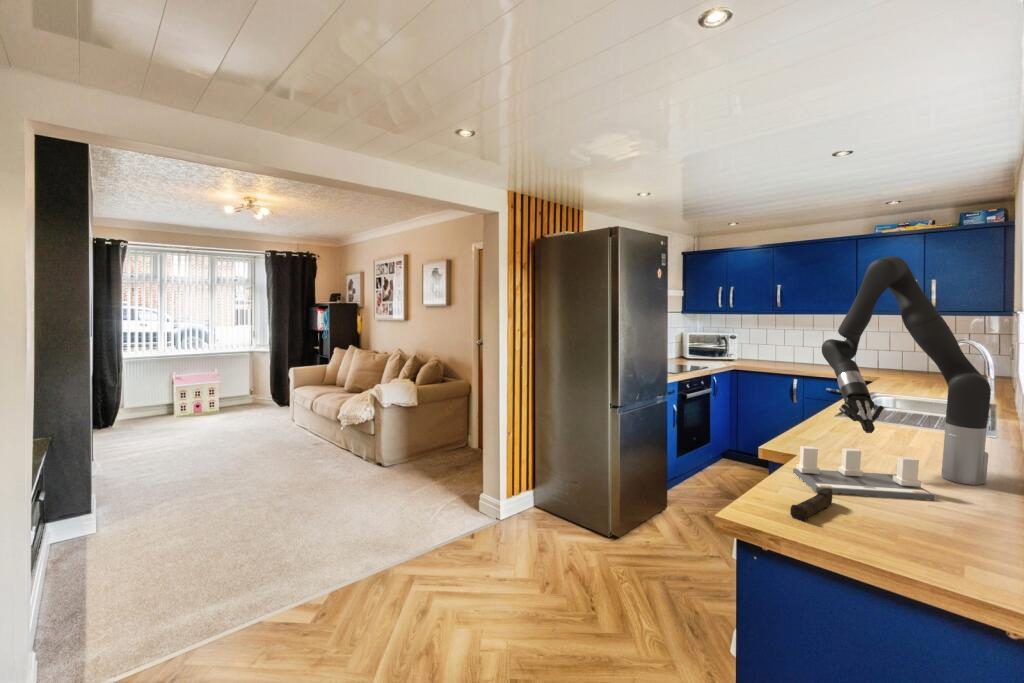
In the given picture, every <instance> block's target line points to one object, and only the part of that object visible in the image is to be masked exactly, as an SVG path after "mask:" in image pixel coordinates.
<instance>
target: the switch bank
mask: <svg viewBox="0 0 1024 683" xmlns="http://www.w3.org/2000/svg"><path fill="white" fill-rule="evenodd" d="M792 473H793V474H794V473H795V474H796V475H797V476H798V477H799V478H798V477H797V476H796V475H795V474H794V475H795V476H796V477H797V478H798V479H800V478H801V479H802V480H803V481H804V482H805V483H806V484H805V483H804V482H803V481H802V480H801V479H800V480H801V481H802V482H803V483H804V484H805V485H807V486H808V487H809V486H810V487H811V488H812V489H813V490H812V489H811V488H810V487H809V488H810V489H811V490H812V491H813V492H815V493H817V492H818V491H819V490H822V489H824V488H830V489H832V493H843V494H842V495H847V494H856V495H855V496H863V495H869V496H868V497H878V496H881V497H882V498H893V497H894V498H897V499H909V498H914V499H913V500H924V499H930V500H929V501H935V494H934V493H933V492H931V491H929V490H927V489H925V488H923V487H922V486H921V487H918V486H902V485H900V484H898V483H896V482H895V481H893V476H897V473H894V474H893V473H878V472H863V476H848V475H843V474H842V473H841V472H839V471H838V470H829V469H828V470H827V469H826V470H825V469H820V474H814V473H801V472H800V471H799V470H798V469H797V468H793V470H792ZM870 495H871V496H870ZM881 497H880V498H881ZM915 498H916V499H915Z"/></svg>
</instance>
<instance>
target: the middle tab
mask: <svg viewBox="0 0 1024 683" xmlns="http://www.w3.org/2000/svg"><path fill="white" fill-rule="evenodd" d="M841 452H842V453H841V464H840V465H838V466H837V471H839V472H841V473H842V474H843V475H848V476H863V473H864V471H863V470H861V463H862V462H861V460H862V459H861V458H862V451H861V450H860V449H858V448H850V447H849V448H848V447H847V448H845V447H842V451H841Z"/></svg>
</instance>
